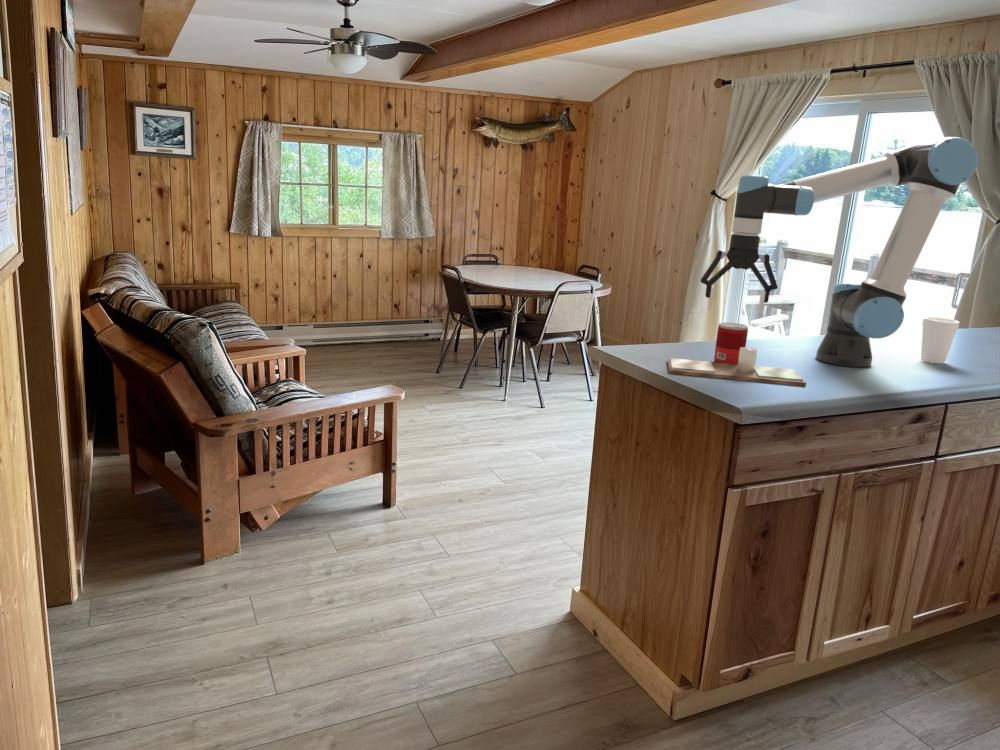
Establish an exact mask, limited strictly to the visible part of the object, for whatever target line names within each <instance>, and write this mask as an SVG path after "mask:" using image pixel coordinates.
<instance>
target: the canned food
mask: <svg viewBox="0 0 1000 750" xmlns="http://www.w3.org/2000/svg"><path fill="white" fill-rule="evenodd" d="M717 327H718V328H717V333H716V334H717V335H716V340H715V349H714V356H713V360H714V361H713V362H716V363H727V364H738V359H739V352H740V348H741V347H747V346H746V345H747V340H748V339H747V338H748V334H749V332H748V331H749V326H748V325H745V324H742V323H738V322H736V323H735V322H720V323H718V326H717Z"/></svg>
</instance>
